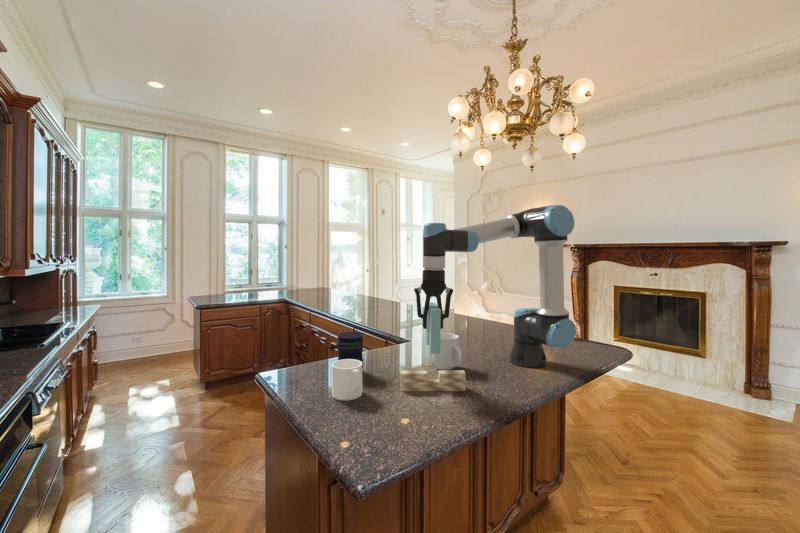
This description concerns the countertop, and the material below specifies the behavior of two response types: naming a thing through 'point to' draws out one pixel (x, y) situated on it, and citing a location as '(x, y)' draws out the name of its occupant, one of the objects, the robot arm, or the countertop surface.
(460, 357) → the mug
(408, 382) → the notched wooden beam
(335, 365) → the mug
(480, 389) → the countertop surface
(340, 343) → the storage jar
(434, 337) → the pale teal block
